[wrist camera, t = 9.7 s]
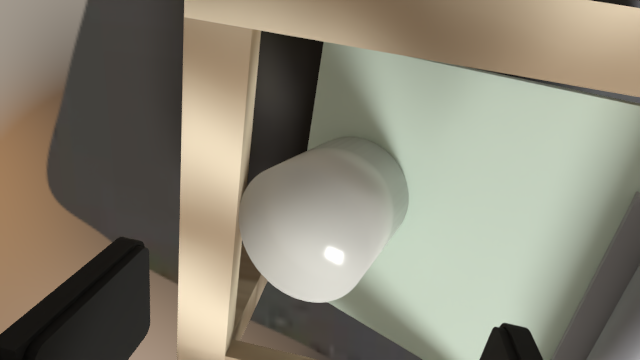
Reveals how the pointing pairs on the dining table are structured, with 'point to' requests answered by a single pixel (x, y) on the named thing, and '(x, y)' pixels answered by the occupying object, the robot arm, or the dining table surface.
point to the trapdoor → (493, 206)
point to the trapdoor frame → (362, 32)
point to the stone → (323, 217)
